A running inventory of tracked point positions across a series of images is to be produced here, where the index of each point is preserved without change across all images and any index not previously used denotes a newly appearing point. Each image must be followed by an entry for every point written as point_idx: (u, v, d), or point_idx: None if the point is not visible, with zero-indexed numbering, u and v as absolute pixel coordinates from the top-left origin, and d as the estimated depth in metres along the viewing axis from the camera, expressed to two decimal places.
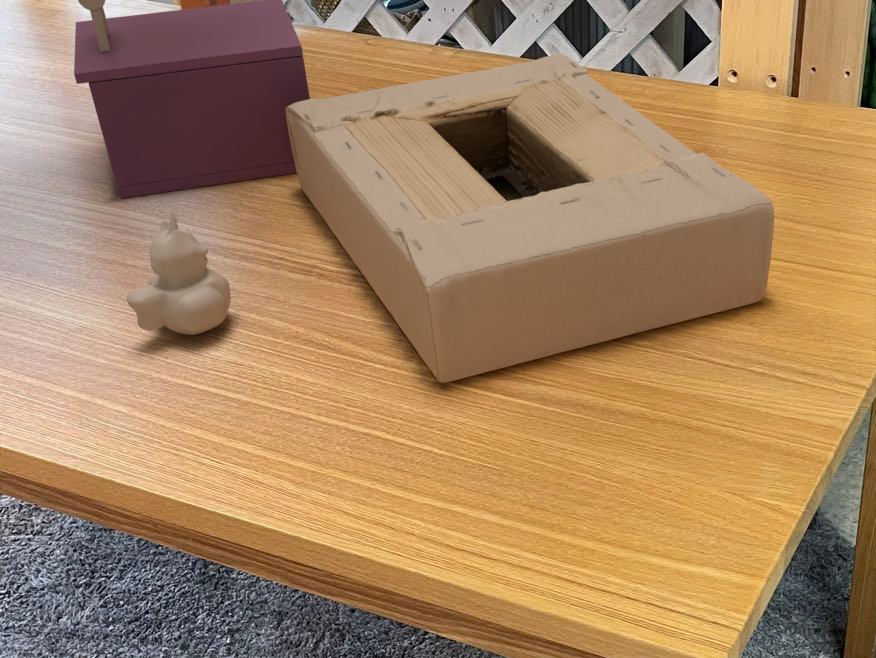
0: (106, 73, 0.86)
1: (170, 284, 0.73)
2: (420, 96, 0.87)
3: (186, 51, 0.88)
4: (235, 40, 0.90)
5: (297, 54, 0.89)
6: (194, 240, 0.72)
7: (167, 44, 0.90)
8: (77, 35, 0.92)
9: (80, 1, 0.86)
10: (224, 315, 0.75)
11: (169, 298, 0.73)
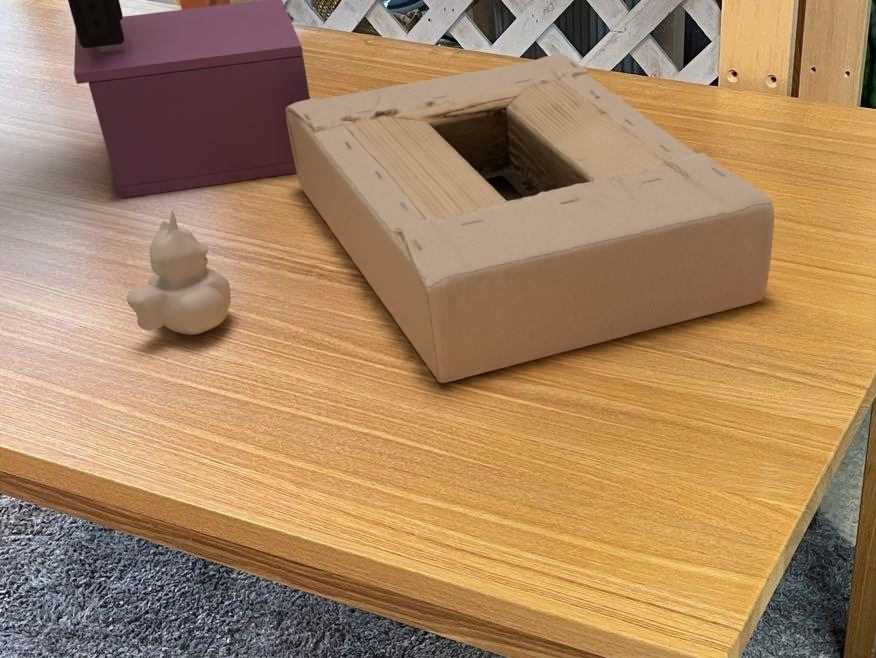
0: (106, 73, 0.86)
1: (170, 284, 0.73)
2: (420, 96, 0.87)
3: (186, 51, 0.88)
4: (235, 40, 0.90)
5: (297, 54, 0.89)
6: (194, 240, 0.72)
7: (167, 44, 0.90)
8: (77, 35, 0.92)
9: None
10: (224, 315, 0.75)
11: (169, 298, 0.73)
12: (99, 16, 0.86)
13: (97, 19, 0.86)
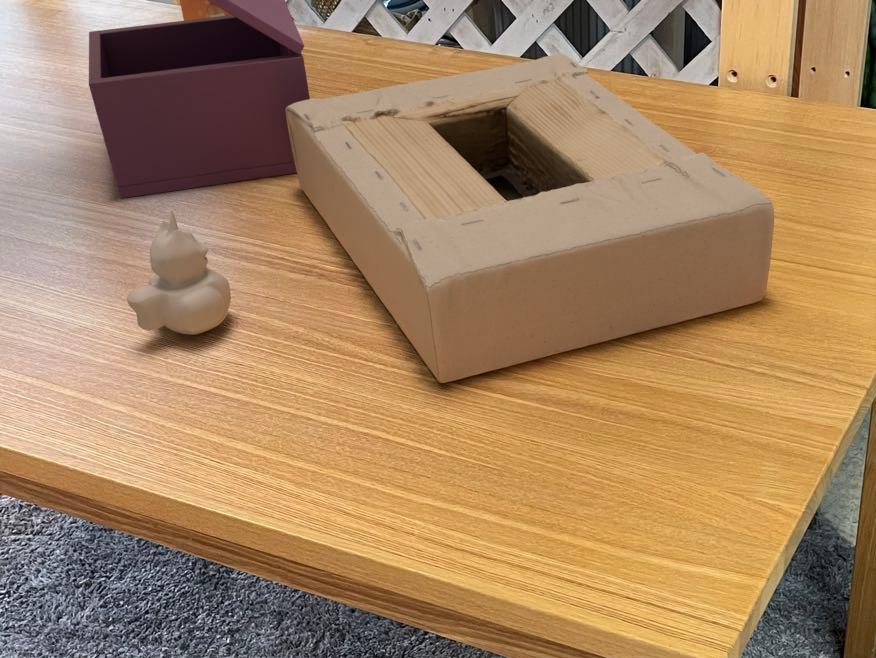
0: None
1: (170, 284, 0.73)
2: (420, 96, 0.87)
3: None
4: (244, 0, 0.88)
5: (296, 50, 0.89)
6: (194, 240, 0.72)
7: None
8: None
9: None
10: (224, 315, 0.75)
11: (169, 298, 0.73)
12: None
13: None
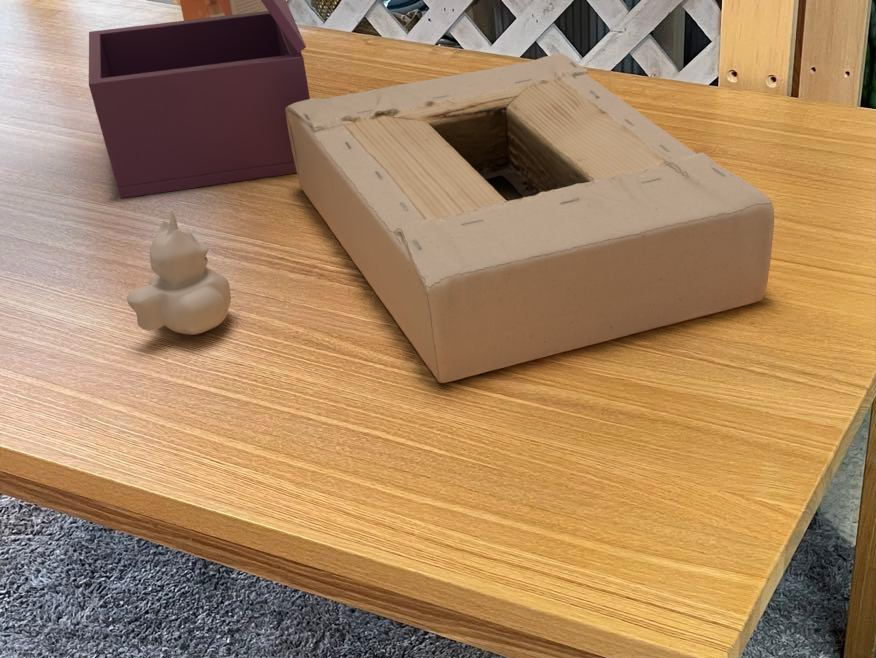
0: None
1: (170, 284, 0.73)
2: (420, 96, 0.87)
3: None
4: None
5: (296, 47, 0.89)
6: (194, 240, 0.72)
7: None
8: None
9: None
10: (224, 315, 0.75)
11: (169, 298, 0.73)
12: None
13: None
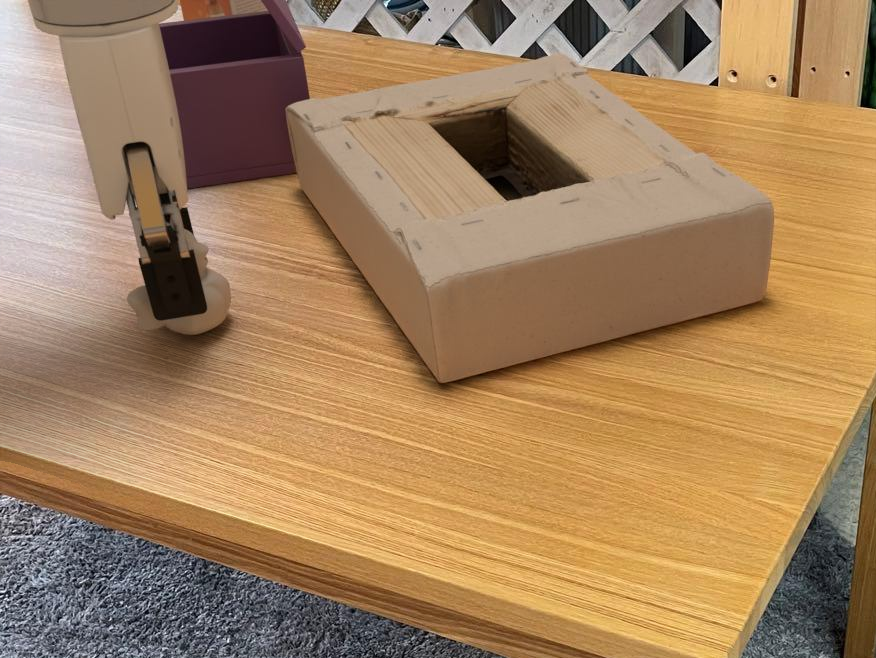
0: None
1: None
2: (419, 96, 0.87)
3: None
4: None
5: (296, 47, 0.89)
6: (194, 240, 0.72)
7: None
8: None
9: None
10: (224, 315, 0.75)
11: None
12: (179, 288, 0.70)
13: (176, 291, 0.70)
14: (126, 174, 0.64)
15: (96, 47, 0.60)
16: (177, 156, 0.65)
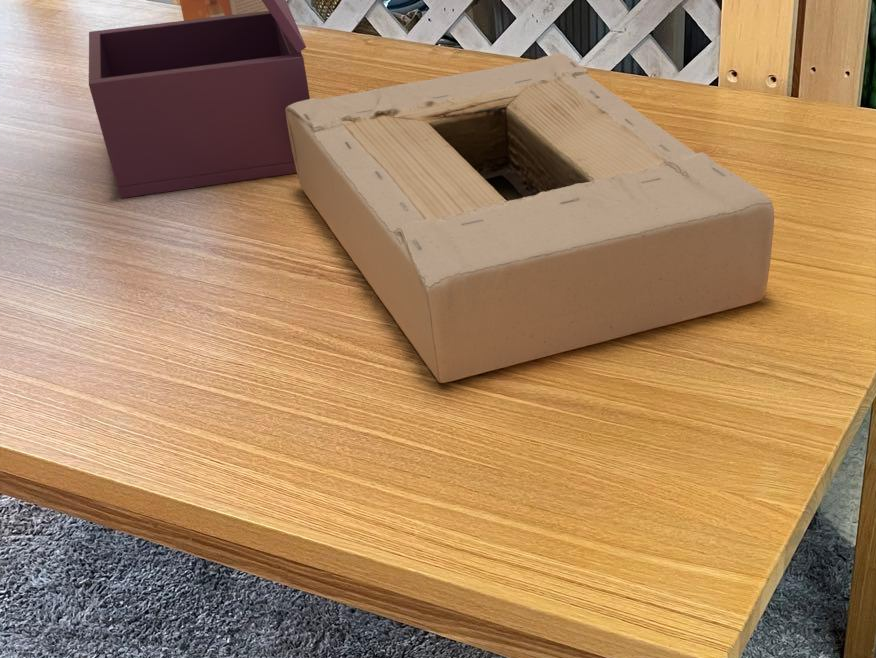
0: None
1: None
2: (419, 96, 0.87)
3: None
4: None
5: (296, 47, 0.89)
6: None
7: None
8: None
9: None
10: None
11: None
12: None
13: None
14: None
15: None
16: None
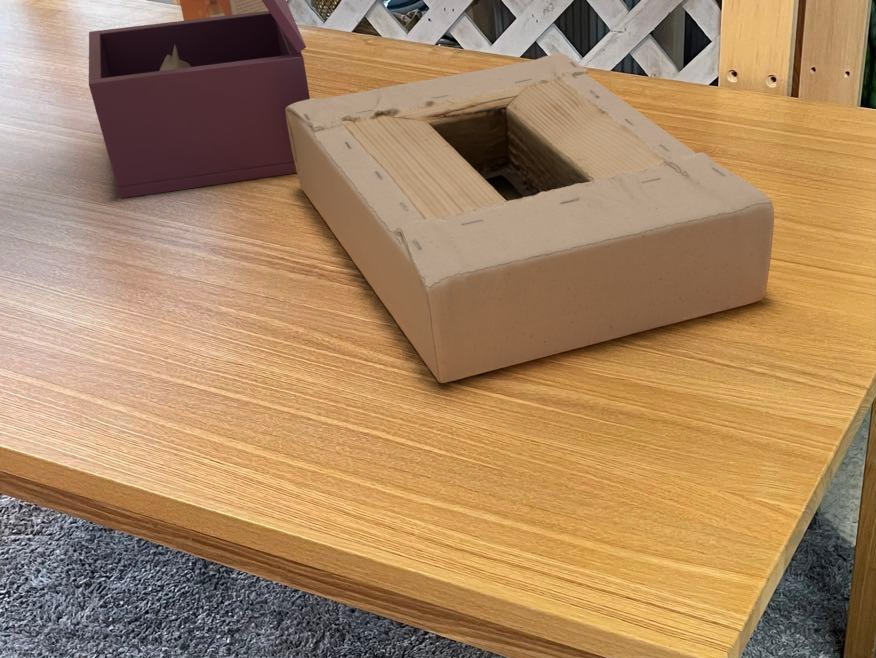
0: None
1: None
2: (419, 96, 0.87)
3: None
4: None
5: (296, 47, 0.89)
6: None
7: None
8: None
9: None
10: None
11: None
12: None
13: None
14: None
15: None
16: None
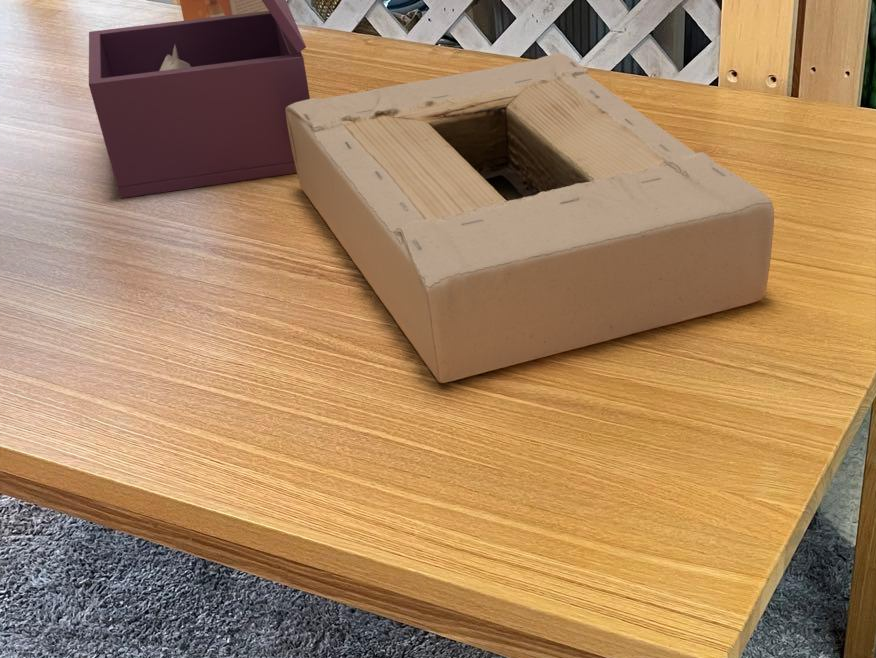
0: None
1: None
2: (419, 96, 0.87)
3: None
4: None
5: (296, 47, 0.89)
6: None
7: None
8: None
9: None
10: None
11: None
12: None
13: None
14: None
15: None
16: None
